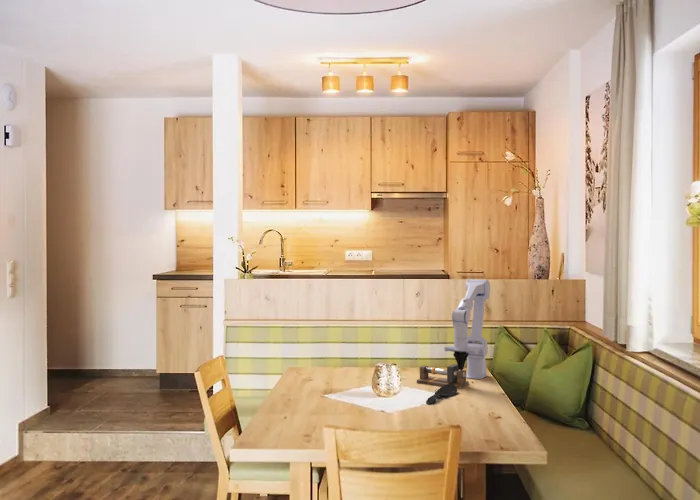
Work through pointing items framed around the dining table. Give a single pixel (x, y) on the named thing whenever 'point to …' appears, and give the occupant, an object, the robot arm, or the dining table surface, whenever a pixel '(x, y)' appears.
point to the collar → (452, 373)
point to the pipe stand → (441, 381)
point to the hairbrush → (443, 393)
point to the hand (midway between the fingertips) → (461, 369)
